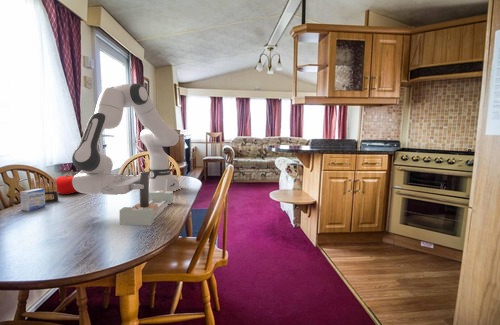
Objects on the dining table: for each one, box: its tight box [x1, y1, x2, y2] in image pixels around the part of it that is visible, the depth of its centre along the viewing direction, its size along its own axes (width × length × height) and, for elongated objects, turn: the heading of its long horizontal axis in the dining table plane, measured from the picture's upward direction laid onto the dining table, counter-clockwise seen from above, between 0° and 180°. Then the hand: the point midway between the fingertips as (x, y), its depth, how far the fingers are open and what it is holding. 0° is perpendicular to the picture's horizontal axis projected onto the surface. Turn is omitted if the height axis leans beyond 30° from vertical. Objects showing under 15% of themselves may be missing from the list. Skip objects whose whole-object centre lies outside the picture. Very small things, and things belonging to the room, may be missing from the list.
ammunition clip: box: [30, 177, 59, 203], centre depth 131 cm, size 11×2×12 cm, turn 120°
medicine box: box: [19, 188, 46, 212], centre depth 121 cm, size 8×4×9 cm, turn 168°
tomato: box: [55, 174, 78, 195], centre depth 150 cm, size 14×13×10 cm
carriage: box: [132, 171, 158, 211], centre depth 114 cm, size 8×9×17 cm
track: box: [119, 191, 174, 226], centre depth 121 cm, size 34×12×6 cm, turn 1°
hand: (146, 185), depth 113 cm, fingers closed on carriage, 4 cm apart
